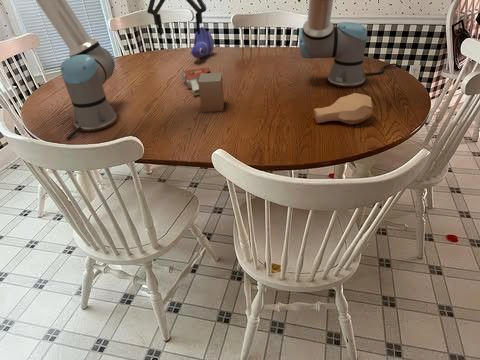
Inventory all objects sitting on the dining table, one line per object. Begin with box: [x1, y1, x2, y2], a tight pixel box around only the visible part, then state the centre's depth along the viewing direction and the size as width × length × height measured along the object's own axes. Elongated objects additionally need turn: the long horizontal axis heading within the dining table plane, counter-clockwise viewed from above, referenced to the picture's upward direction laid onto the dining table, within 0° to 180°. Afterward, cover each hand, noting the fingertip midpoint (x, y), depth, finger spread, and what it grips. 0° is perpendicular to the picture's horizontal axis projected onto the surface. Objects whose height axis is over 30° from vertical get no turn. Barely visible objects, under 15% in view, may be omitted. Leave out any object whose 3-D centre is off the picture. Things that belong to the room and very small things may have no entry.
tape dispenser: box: [180, 66, 212, 96], centre depth 156 cm, size 18×5×20 cm
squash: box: [313, 92, 374, 125], centre depth 122 cm, size 11×20×9 cm, turn 92°
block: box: [198, 72, 225, 113], centre depth 136 cm, size 8×9×12 cm
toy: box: [190, 26, 215, 63], centre depth 186 cm, size 10×17×25 cm
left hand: (180, 33), depth 127 cm, fingers open, 13 cm apart
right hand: (313, 0), depth 164 cm, fingers open, 13 cm apart
